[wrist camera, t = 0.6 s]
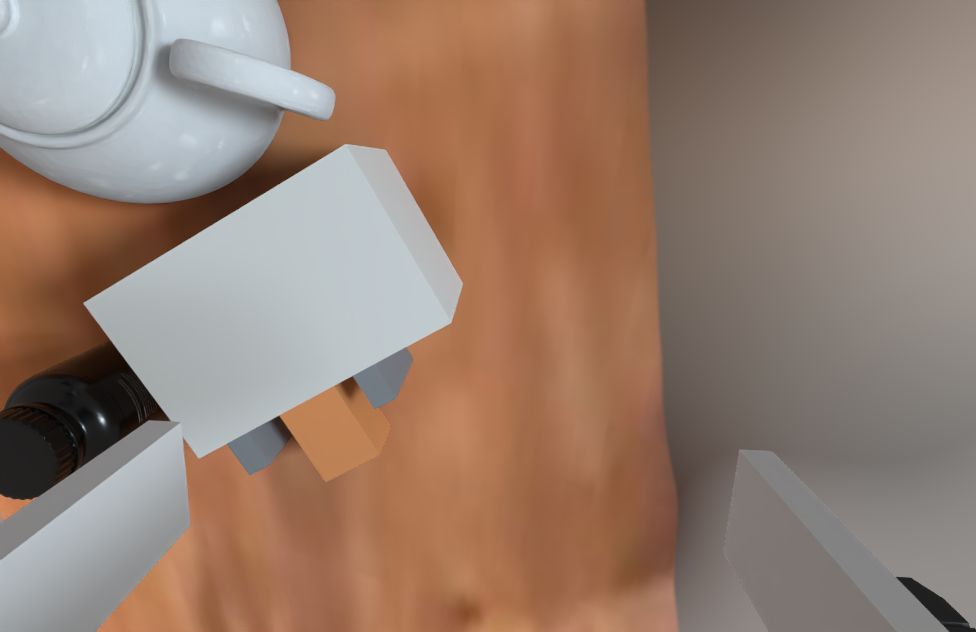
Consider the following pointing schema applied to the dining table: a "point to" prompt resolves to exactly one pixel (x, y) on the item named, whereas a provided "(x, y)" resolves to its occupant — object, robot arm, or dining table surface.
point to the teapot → (147, 92)
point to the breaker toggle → (338, 429)
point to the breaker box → (285, 304)
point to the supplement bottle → (69, 419)
